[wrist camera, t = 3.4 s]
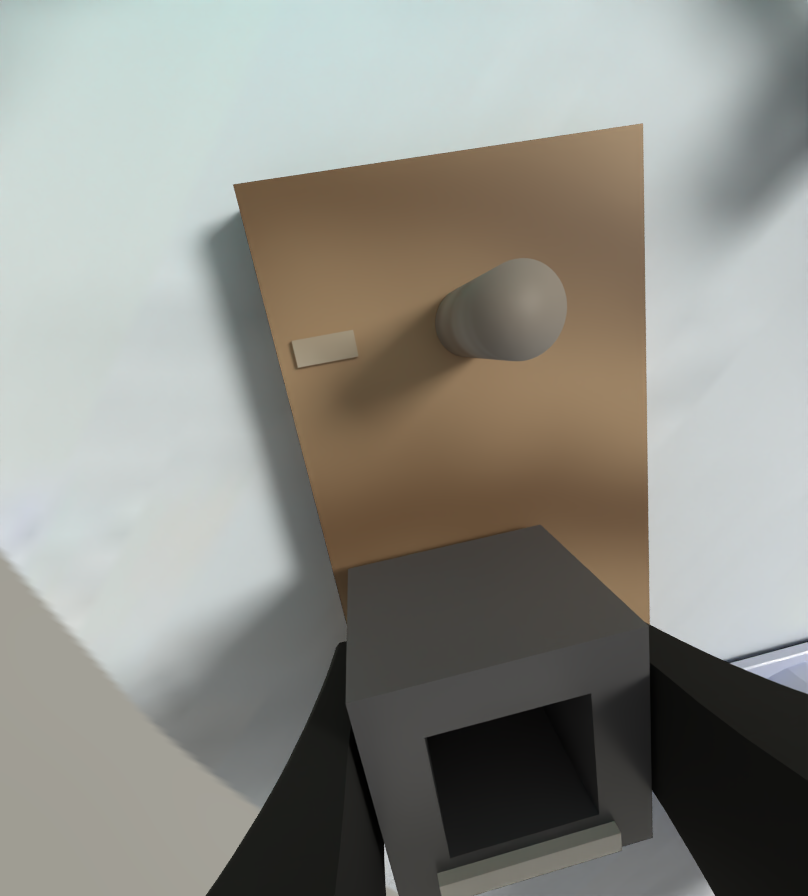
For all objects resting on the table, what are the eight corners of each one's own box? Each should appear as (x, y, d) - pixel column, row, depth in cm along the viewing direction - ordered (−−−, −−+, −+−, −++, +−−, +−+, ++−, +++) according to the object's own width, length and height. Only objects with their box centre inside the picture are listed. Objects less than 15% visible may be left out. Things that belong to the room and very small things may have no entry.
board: (627, 705, 15) (732, 841, 11) (390, 770, 14) (406, 941, 10) (609, 149, 10) (785, 13, 6) (247, 204, 9) (167, 94, 5)
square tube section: (540, 524, 11) (657, 633, 6) (555, 679, 12) (660, 849, 8) (348, 568, 10) (345, 714, 6) (386, 723, 12) (405, 927, 7)
